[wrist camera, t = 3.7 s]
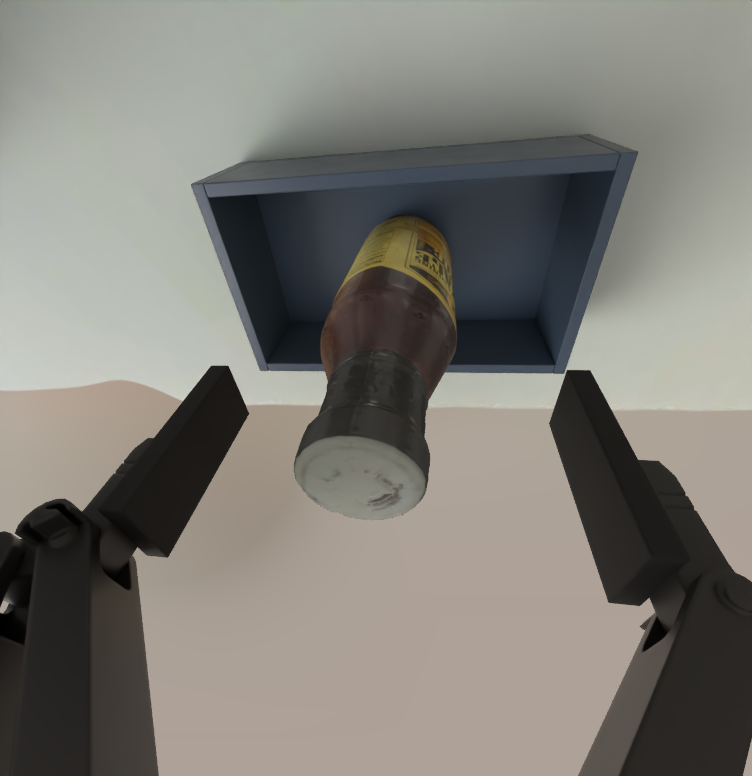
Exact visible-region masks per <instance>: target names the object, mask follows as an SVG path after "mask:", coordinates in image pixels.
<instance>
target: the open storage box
mask: <svg viewBox="0 0 752 776" xmlns="http://www.w3.org/2000/svg"><path fill="white" fill-rule="evenodd" d="M637 154H638V151H635V150H632V149H629V148H626V147H624V146H621V145H618V144H615V143H612V142H610V141H607V140H604V139H601V138H598V137H596V136H593V135H590V134H587V135H575V136H563V137H550V138H538V139H526V140H513V141H501V142H489V143H476V144H464V145H451V146H439V147H427V148H414V149H402V150H390V151H377V152H365V153H353V154H340V155H328V156H316V157H303V158H291V159H278V160H266V161H254V162H241V163H238V164H236V165H234V166H232V167H229V168H227V169H225V170H222V171H220V172H218V173H216V174H213V175H211V176H209V177H206V178H204V179H202V180H200V181H197V182H195V183H193V184H191V186H192V189H193V192H194V194H195V197H196V200H197V202H198V205H199V208H200V210H201V213H202V216H203V218H204V221H205V224H206V226H207V229H208V232H209V234H210V237H211V240H212V243H213V245H214V248H215V251H216V253H217V256H218V259H219V261H220V264H221V267H222V269H223V272H224V275H225V277H226V280H227V283H228V285H229V288H230V291H231V294H232V296H233V299H234V302H235V304H236V307H237V310H238V312H239V315H240V318H241V320H242V323H243V326H244V328H245V331H246V334H247V336H248V339H249V342H250V344H251V347H252V350H253V353H254V355H255V358H256V361H257V363H258V366H259V369H260V371H269V370H270V371H325V370H324V368H323V363H322V359H321V349H320V345H321V335H322V329H323V327H324V324H325V321H326V319H327V317H328V315H329V312H330V311H331V310H332V306H333V303H334V300H335V298H336V295H337V293H338V291H339V289H340V288H341V286H342V284H343V282H344V280H345V278H346V276H347V274H348V273H349V271H350V269H351V267H352V265H353V263H354V261H355V259H356V257H357V255H358V253H359V251H360V249H361V248H362V246H363V244H364V242H365V240H366V238H367V237H368V235H369V234H370V233H371V231H372V230H373V229H374V228H375V227H376V226H377V225H379V224H381V223H382V222H383V221H386V220H387V219H389V218H391V217H393V216H395V215H414V216H417V217H420V218H423V219H426V220H429V221H431V222H432V223H433V224H434V226H435V227H436V228H437V229H438V230H439V231H440V233H441V234H442V235H443V237H444V238H445V240H446V242H447V244H448V248H449V251H450V257H451V267H452V279H453V284H454V285H453V288H454V301H455V317H456V332H457V345H456V351H455V354H454V356H453V359H452V360H451V362H450V364H449V366H448V367H447V369H446V371H445V372H461V373H554V374H564V372H565V369H566V366H567V363H568V360H569V357H570V354H571V352H572V349H573V346H574V343H575V340H576V337H577V334H578V331H579V328H580V325H581V322H582V319H583V316H584V313H585V310H586V307H587V304H588V301H589V298H590V295H591V292H592V289H593V286H594V283H595V280H596V277H597V274H598V271H599V268H600V265H601V262H602V259H603V256H604V253H605V250H606V247H607V244H608V241H609V238H610V235H611V232H612V229H613V226H614V223H615V220H616V217H617V214H618V211H619V208H620V205H621V202H622V199H623V196H624V193H625V190H626V187H627V184H628V181H629V178H630V175H631V172H632V169H633V166H634V163H635V160H636V157H637Z"/></svg>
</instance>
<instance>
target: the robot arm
mask: <svg viewBox="0 0 752 776" xmlns="http://www.w3.org/2000/svg"><path fill="white" fill-rule="evenodd" d="M248 415H249V412H248V410H247V408H246V405H245V403H244V401H243V398H242V396H241V394H240V391H239V389H238V387H237V385H236V382H235V380H234V378H233V375H232V373H231V371H230V369H229V366H211V367H210V368H209V369H208V371H207V372H206V373H205V374H204V376H203V377H202V378H201V379H200V381H199V382H198V383H197V385H196V386H195V387H194V388H193V390H192V391H191V392H190V393H189V395H188V396H187V397H186V398H185V400H184V401H183V402H182V404H181V405H180V406H179V407H178V409H177V410H176V411H175V412H174V414H173V415H172V416H171V417H170V419H169V420H168V421H167V422H166V424H165V425H164V426H163V428H162V429H161V430H160V431H159V433H158V434H157V435H156V436H155V438H148V439H146V440H145V441H144V442H142V443H141V444H140V445H138V446H137V447H136V448H135V449H134V450H133V451H132V452H131V453H130V454H129V456H128V457H127V458H126V459H125V461H124V464H121V466H120V467H119V468H118V469H117V470H116V473H115V474H113V475H112V476H111V478H110V479H109V480H108V481H107V482H106V484H105V485H104V486H103V487H102V488H101V490H100V491H99V492H98V493H97V495H96V496H95V497H94V498H93V500H92V501H91V502H90V503H89V504H88V506H87V507H86V508H85V509H84V510H83V511H82V512H81V511H80V510H79V509H78V508H77V507H76V506H75V505H74V504H72V503H71V502H70V501H68V500H66V499H55V500H52V501H49V502H46V503H44V504H43V505H41V506H39V507H37V508H35V509H34V510H33V511H32V512H30V513H29V514H28V515H27V516H26V517H25V518H24V519H23V520H22V521H21V522H20V524H19V525H18V527H17V529H16V532H15V534H16V535H18V536H19V537H21V538H22V539H18V538H17V537H15V536H14V535H12V534H11V533H8V532H0V606H1V604H2V601H3V600H4V601H6V602H8V603H9V605H8V607H7V609H6V611H5V612H4V613H3V614H2V613H0V776H159V775H158V766H157V756H156V746H155V737H154V727H153V718H152V708H151V699H150V690H149V680H148V671H147V662H146V652H145V642H144V633H143V623H142V615H141V605H140V596H139V586H138V576H137V568H136V561H135V559H134V557H133V556H132V555H133V553H134V551H135V550H136V548H137V547H138V548H140V549H141V551H143V552H144V553H145V554H146V555H148V556H158V557H168V556H169V555H170V553H171V551H172V549H173V548H174V546H175V544H176V542H177V541H178V539H179V537H180V535H181V533H182V531H183V530H184V528H185V526H186V525H187V523H188V521H189V519H190V517H191V516H192V514H193V512H194V510H195V509H196V507H197V505H198V503H199V501H200V499H201V498H202V496H203V494H204V493H205V491H206V489H207V487H208V485H209V484H210V482H211V480H212V478H213V477H214V475H215V473H216V471H217V470H218V468H219V466H220V464H221V463H222V461H223V459H224V457H225V455H226V453H227V452H228V450H229V448H230V447H231V445H232V443H233V441H234V439H235V438H236V436H237V434H238V432H239V431H240V429H241V427H242V425H243V423H244V422H245V420H246V418H247V416H248ZM549 424H550V427H551V431H552V434H553V437H554V439H555V443H556V445H557V449H558V452H559V455H560V458H561V461H562V463H563V467H564V470H565V473H566V476H567V479H568V482H569V485H570V488H571V491H572V494H573V496H574V500H575V503H576V506H577V509H578V512H579V515H580V518H581V521H582V524H583V527H584V530H585V533H586V536H587V539H588V542H589V545H590V548H591V551H592V554H593V557H594V560H595V563H596V566H597V569H598V572H599V575H600V578H601V581H602V584H603V587H604V590H605V593H606V596H607V599H608V602H609V603H617V604H626V605H636V606H640V605H642V603H644V602H645V601H646V600H647V599H648V598H649V597H650V600H651V602H652V604H653V607H654V609H655V613H654V614H653V615H652V616H651V617H649V618H648V619H647V620H646V621H645V622H644V623H643V624H642V625H641V626H640V627H641V628H642V629H644V630H645V629H646V630H645V633H644V635H643V637H642V639H641V641H640V643H639V646H638V648H637V650H636V652H635V654H634V656H633V659H632V661H631V663H630V665H629V667H628V669H627V671H626V674H625V676H624V678H623V680H622V682H621V685H620V687H619V689H618V691H617V693H616V695H615V697H614V700H613V702H612V704H611V706H610V708H609V710H608V712H607V715H606V717H605V719H604V721H603V723H602V725H601V727H600V730H599V732H598V734H597V736H596V738H595V741H594V743H593V745H592V747H591V749H590V751H589V753H588V756H587V758H586V760H585V762H584V764H583V766H582V769H581V771H580V773H579V775H578V776H743V772H744V768H745V764H746V759H747V756H748V751H749V747H750V743H751V739H752V582H751V581H750V580H748V579H747V578H745V577H743V576H741V575H739V574H737V573H735V572H734V570H733V569H732V568H731V566H730V565H729V564H728V562H727V561H726V559H725V557H724V556H723V554H722V552H721V551H720V549H719V547H718V546H717V544H716V542H715V541H714V539H713V538H712V536H711V534H710V533H709V531H708V529H707V528H706V526H705V524H704V523H703V521H702V519H701V518H700V516H699V514H698V513H697V511H695V510H694V506H693V505H692V503H691V501H690V500H689V498H688V497H687V496H685V491H684V490H683V488H682V487H681V485H680V483H679V481H678V480H677V478H676V477H675V476H674V475H673V474H672V473H671V472H670V471H669V470H668V469H667V468H666V467H665V466H663V465H662V464H661V463H660V462H659V461H647V460H638V459H637V457H636V455H635V453H634V451H633V450H632V448H631V446H630V444H629V442H628V440H627V438H626V437H625V435H624V433H623V431H622V429H621V427H620V425H619V423H618V422H617V420H616V418H615V416H614V414H613V412H612V410H611V408H610V407H609V405H608V403H607V401H606V399H605V397H604V395H603V393H602V392H601V390H600V388H599V386H598V384H597V382H596V380H595V379H594V377H593V375H592V373H591V371H590V370H567V372H566V375H565V378H564V381H563V384H562V387H561V390H560V393H559V396H558V399H557V402H556V405H555V408H554V411H553V414H552V417H551V420H550V423H549Z"/></svg>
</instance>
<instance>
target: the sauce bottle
mask: <svg viewBox="0 0 752 776" xmlns="http://www.w3.org/2000/svg"><path fill="white" fill-rule="evenodd" d="M453 285H454V284H453V279H452V267H451V257H450V251H449V248H448V244H447V242H446V240H445V238H444V237H443V235H442V234H441V233H440V231H439V230H438V229H437V228H436V227H435V226H434V224H433V223H432V222H431V221H429V220H426V219H423V218H420V217H417V216H414V215H395V216H393V217H391V218H389V219H387V220H386V221H383V222H382V223H381V224H379V225H377V226H376V227H375V228H374V229H373V230H372V231H371V233H370V234H369V235H368V237H367V238H366V240H365V242H364V244H363V246H362V248H361V249H360V251H359V253H358V255H357V257H356V259H355V261H354V263H353V265H352V267H351V269H350V271H349V273H348V274H347V276H346V278H345V280H344V282H343V284H342V286H341V288H340V289H339V291H338V293H337V295H336V298H335V300H334V303H333V306H332V310H331V311H330V312H329V315H328V317H327V319H326V321H325V324H324V327H323V329H322V335H321V345H320V349H321V359H322V363H323V368H324V370H325V372H326V376H327V379H328V384H327V392H326V396H325V399H324V401H323V404H322V406H321V410H320V412H319V415H318V416H317V417H316V418H315V419H314V420H313V421H312V422H311V423H310V424H309V425H308V426H307V429H306V431H305V433H304V435H303V437H302V440H301V442H300V446H299V449H298V452H297V455H296V458H295V462H294V473H295V479H296V481H297V483H298V484H299V485H300V487H301V488H302V489H303V491H304V492H305V493H306V494H307V495H308V497H309V498H310V499H311V500H313V501H314V502H315V503H317V504H318V505H320V506H321V507H323V508H326V509H327V510H329V511H332V512H337V513H340V514H342V515H344V516H347V517H350V518H356V519H362V520H383V519H389V518H393V517H396V516H399V515H403V514H405V513H407V512H408V511H409V510H411V509H412V508H414V507H415V506H416V505H417V504H418V503H419V502H420V501H421V499H422V498H423V496H424V494H425V492H426V488H427V483H428V473H429V466H430V453H429V449H428V446H427V443H426V440H425V438H424V433H425V415H426V410H427V407H428V400H429V399H430V397H431V395H432V393H433V392H434V390H435V388H436V386H437V385H438V383H439V381H440V379H441V378H442V376H443V374H444V372H445V371H446V369H447V367H448V366H449V364H450V362H451V360H452V359H453V356H454V354H455V351H456V345H457V332H456V317H455V301H454V288H453Z"/></svg>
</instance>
